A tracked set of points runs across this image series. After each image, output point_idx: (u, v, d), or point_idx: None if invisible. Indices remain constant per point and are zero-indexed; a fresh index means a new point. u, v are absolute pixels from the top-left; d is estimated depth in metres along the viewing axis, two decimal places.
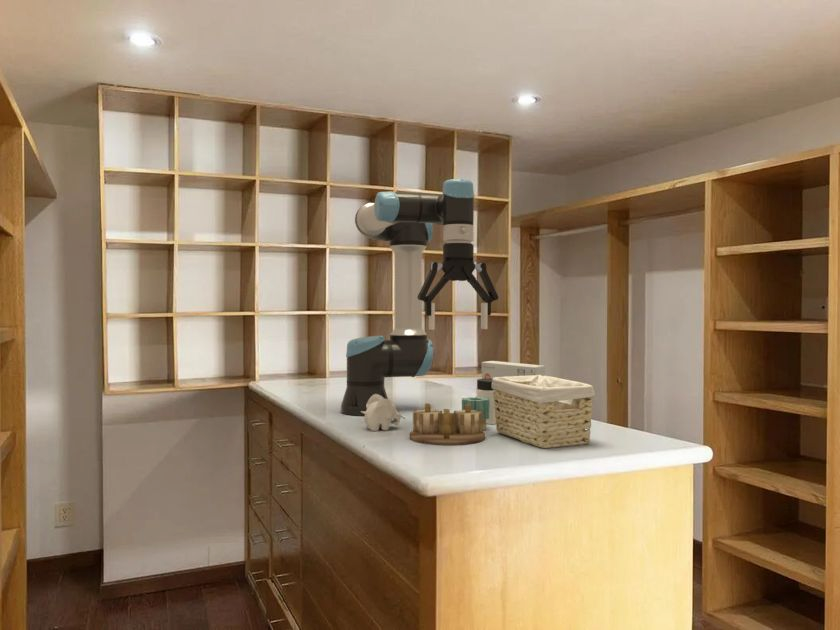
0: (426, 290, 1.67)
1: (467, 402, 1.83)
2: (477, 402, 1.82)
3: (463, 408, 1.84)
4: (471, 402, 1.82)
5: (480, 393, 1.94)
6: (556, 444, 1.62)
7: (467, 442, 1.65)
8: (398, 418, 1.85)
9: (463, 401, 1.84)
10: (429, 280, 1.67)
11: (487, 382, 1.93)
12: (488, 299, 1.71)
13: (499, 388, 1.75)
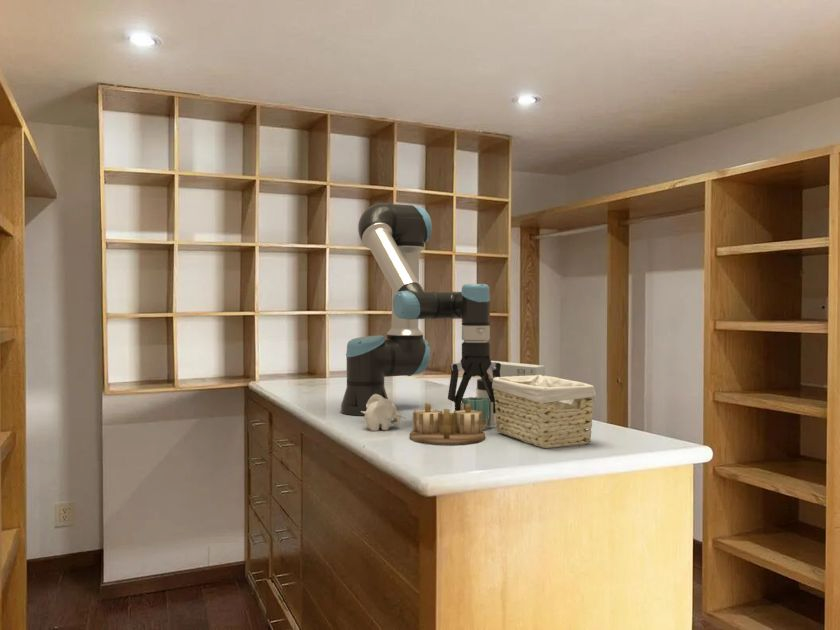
0: (454, 391, 1.83)
1: (467, 402, 1.83)
2: (477, 402, 1.82)
3: None
4: (471, 402, 1.83)
5: (480, 393, 1.94)
6: (557, 444, 1.62)
7: (467, 442, 1.65)
8: (398, 418, 1.85)
9: (463, 401, 1.84)
10: (454, 382, 1.83)
11: None
12: (494, 398, 1.86)
13: (500, 388, 1.75)
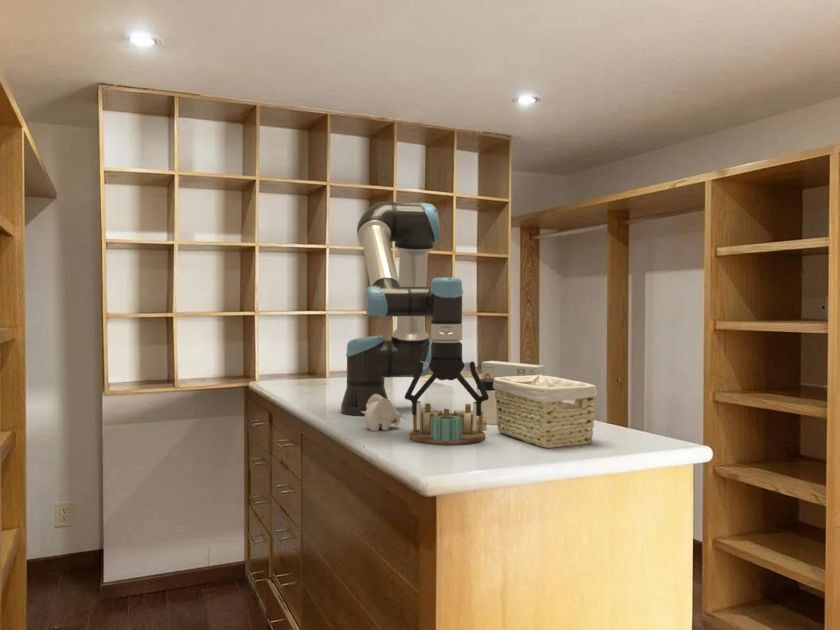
0: (411, 390, 1.67)
1: (434, 421, 1.66)
2: (443, 421, 1.65)
3: (431, 427, 1.68)
4: (436, 421, 1.65)
5: (480, 393, 1.94)
6: (559, 444, 1.62)
7: (467, 442, 1.65)
8: (398, 418, 1.85)
9: (431, 419, 1.68)
10: (414, 380, 1.67)
11: (487, 382, 1.93)
12: (477, 399, 1.66)
13: (501, 388, 1.75)
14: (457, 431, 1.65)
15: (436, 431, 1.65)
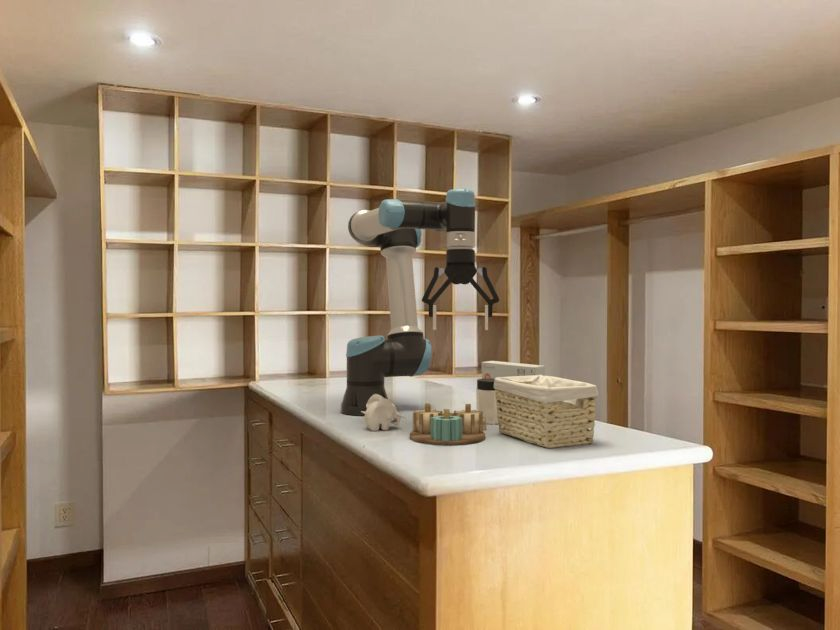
0: (428, 293, 1.81)
1: (434, 421, 1.66)
2: (443, 421, 1.65)
3: (431, 427, 1.68)
4: (436, 421, 1.65)
5: (480, 393, 1.94)
6: (561, 444, 1.62)
7: (467, 442, 1.65)
8: (398, 418, 1.85)
9: (431, 419, 1.68)
10: (430, 284, 1.81)
11: (487, 382, 1.93)
12: (489, 301, 1.80)
13: (502, 388, 1.75)
14: (457, 431, 1.65)
15: (436, 431, 1.65)
